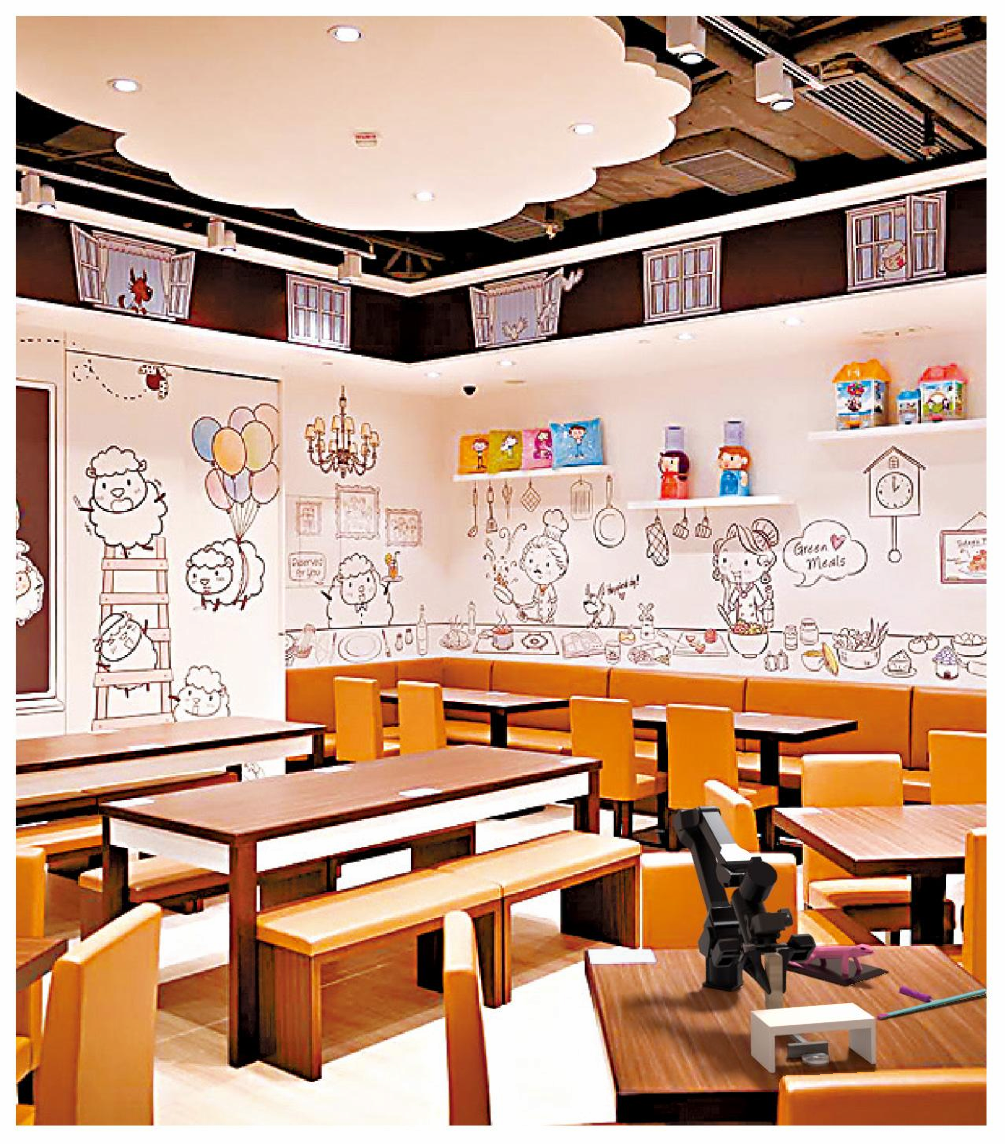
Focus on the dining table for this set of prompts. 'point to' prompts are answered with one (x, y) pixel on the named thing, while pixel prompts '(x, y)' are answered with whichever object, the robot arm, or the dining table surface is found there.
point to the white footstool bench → (811, 1028)
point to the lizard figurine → (837, 964)
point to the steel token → (815, 1059)
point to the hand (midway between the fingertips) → (777, 993)
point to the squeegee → (928, 998)
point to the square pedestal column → (776, 1002)
